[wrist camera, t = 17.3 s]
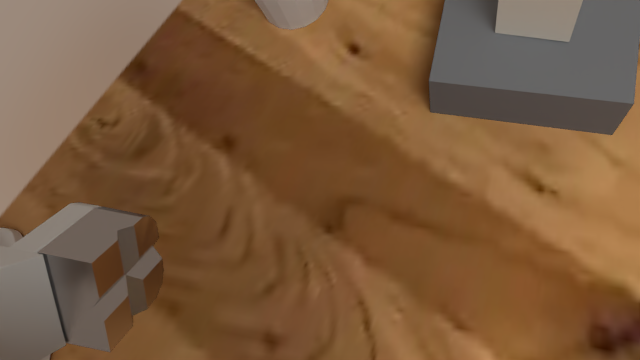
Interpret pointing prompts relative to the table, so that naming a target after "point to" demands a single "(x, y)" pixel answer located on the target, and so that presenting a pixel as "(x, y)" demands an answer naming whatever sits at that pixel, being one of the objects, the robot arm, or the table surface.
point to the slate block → (537, 68)
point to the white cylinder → (292, 12)
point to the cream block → (538, 18)
